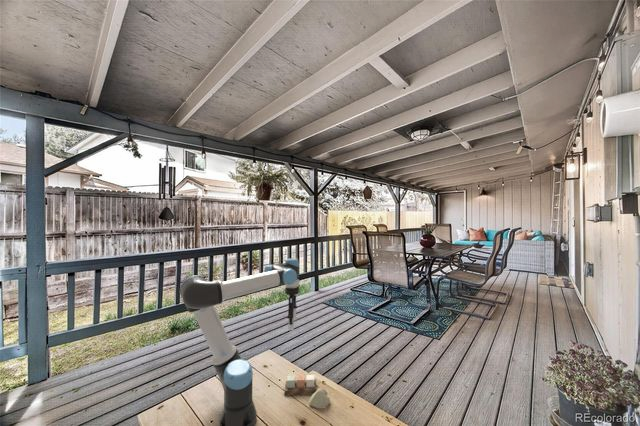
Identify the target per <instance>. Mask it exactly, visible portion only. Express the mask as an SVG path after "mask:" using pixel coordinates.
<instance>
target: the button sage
mask: <svg viewBox="0 0 640 426" xmlns="http://www.w3.org/2000/svg"><path fill="white" fill-rule="evenodd" d="M286 377H287V378H286V381H287V389H288V388H295V380H296V375H294V374H293V375H287V376H286Z"/></svg>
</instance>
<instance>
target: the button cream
mask: <svg viewBox="0 0 640 426" xmlns="http://www.w3.org/2000/svg"><path fill="white" fill-rule="evenodd" d="M305 380H306V381H307V386H306V388H315V386H314V380H315V374H306V379H305Z"/></svg>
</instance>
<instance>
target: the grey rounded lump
mask: <svg viewBox="0 0 640 426" xmlns="http://www.w3.org/2000/svg"><path fill="white" fill-rule="evenodd" d="M330 401H331V399H330V396H329V395H328V391H327V390H326V389H325V388H323V387H320V388H319V387H318V389H316V392H315V393H314V394H311V396H310V398H309V402H308V404H309V405H310V406H312V407H313V408H316V409H324V408H326V407H327V406H329V404H330Z"/></svg>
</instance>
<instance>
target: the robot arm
mask: <svg viewBox="0 0 640 426" xmlns="http://www.w3.org/2000/svg"><path fill="white" fill-rule="evenodd" d="M284 261H285V262H284V263H274V264H268V265H265V266H264V270H263V272H261V273H256V274H252V275H247V276H242V277H239V278H235V279H229V280H226V281H225V280H224V281H221V280H214V281H208V280H207V279H206V278H205V277H204V276H201V275H197V274H196V275H194V274H193V275H191V276H189V277H187V278H185V279H184V280H183V281H182V282H181V284H180V287H179V294H180V297H181V298H182V301H183V303H184V305H185V307H186V310H187V311H188V313H190V314H193V315H194V317H195V319H196V321H197V324H198V326H199V328H200V330H201V332H202V334H203V337H204V339H205V341H206V343H207V345H208V347H209V349H210V352H211V354H212V356H213V357H212V359H211V363H212V366H213V368H214V370H215V372H216V375H217V376H218V379H219V381H220V383H221V386H222V389H223V410H222V412H221V416H220V417H219V426H255V424H256V423H257V409H256V406H255V402H254V401H253V375H254V374H253V373H254V372H253V366H252V364H251V362H250V361H248V360H244V359H243V358H242V357H241V355H240V352H239V350H238V348H237V346H236V345H234V344H231V341H230V339H229V336H228V334H227V331H226V329H225V327H224V324H223V323H222V320H221V318H220V315H219V313H218V311H217V309H216V307H215V306H217V305H221V304H223V302H225V300H226V301H227V300H230V299H233V298H237V297H240V296H244V295H247V294H248V295H249V294H251V293H255V292H259V291H263V290H265V289H270V288H274V287H277V286H282V285H285V294H286V295H287V296H288V298H287V299H288V311H287V313H288V314H287V316H286V318H287V319H288V331H294V330H295V326H294V325H295V322H294V321H297V308H298V305H297V295H298V294H299V293H300V286H299V285H300V283H301V281H300V278H299V276H300V263H299V262H300V261H299V260H298V258H286V259H285V260H284Z"/></svg>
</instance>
